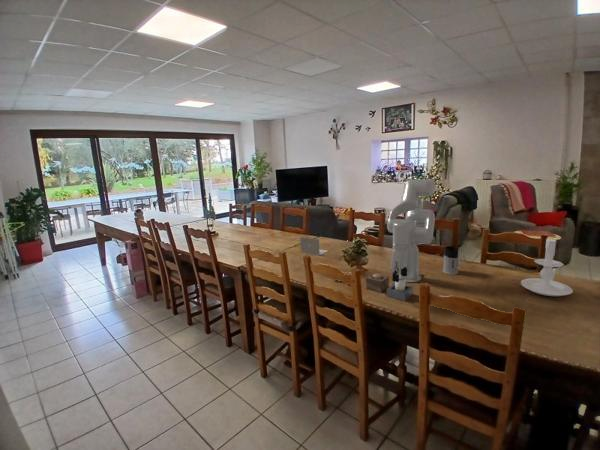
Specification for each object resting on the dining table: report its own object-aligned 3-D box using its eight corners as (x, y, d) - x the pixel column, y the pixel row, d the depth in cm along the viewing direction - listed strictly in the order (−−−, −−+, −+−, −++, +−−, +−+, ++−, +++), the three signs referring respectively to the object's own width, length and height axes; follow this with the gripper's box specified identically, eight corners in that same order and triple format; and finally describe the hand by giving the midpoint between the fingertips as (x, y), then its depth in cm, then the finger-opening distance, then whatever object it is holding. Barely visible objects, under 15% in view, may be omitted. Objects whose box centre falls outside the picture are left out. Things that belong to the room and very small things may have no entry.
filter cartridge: (397, 292, 167) (397, 274, 164) (406, 294, 163) (406, 276, 161) (393, 295, 163) (393, 277, 161) (402, 298, 160) (402, 279, 158)
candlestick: (578, 289, 158) (586, 235, 152) (566, 305, 143) (574, 247, 137) (529, 278, 174) (535, 229, 168) (514, 292, 159) (519, 239, 153)
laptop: (328, 251, 244) (328, 235, 242) (319, 256, 235) (318, 239, 232) (310, 248, 256) (309, 233, 253) (300, 252, 246) (299, 236, 243)
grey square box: (374, 283, 180) (374, 273, 179) (388, 286, 174) (388, 276, 173) (366, 288, 174) (366, 278, 172) (381, 292, 168) (380, 281, 166)
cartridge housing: (395, 289, 170) (395, 282, 169) (413, 294, 163) (413, 286, 163) (386, 296, 163) (386, 289, 162) (405, 301, 156) (405, 293, 155)
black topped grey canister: (450, 268, 196) (451, 245, 192) (469, 275, 182) (470, 251, 179) (439, 270, 193) (440, 247, 190) (457, 278, 180) (458, 253, 177)
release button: (375, 283, 177) (375, 273, 175) (383, 285, 174) (383, 274, 172) (371, 285, 173) (371, 275, 172) (379, 287, 170) (379, 277, 169)
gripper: (400, 241, 166) (400, 272, 169) (385, 249, 154) (385, 282, 157) (414, 243, 161) (413, 275, 164) (400, 251, 149) (399, 285, 152)
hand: (399, 278), depth 161 cm, fingers open, 9 cm apart
